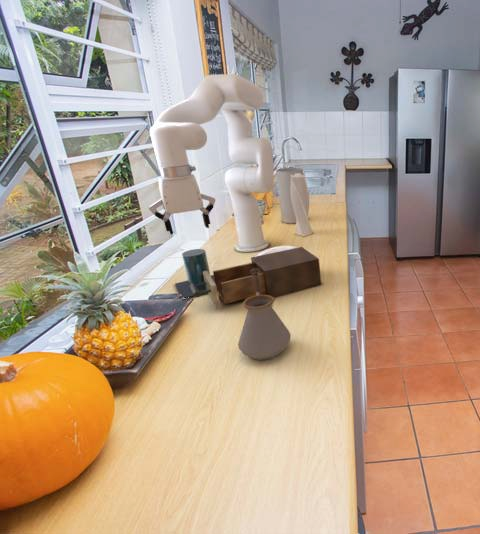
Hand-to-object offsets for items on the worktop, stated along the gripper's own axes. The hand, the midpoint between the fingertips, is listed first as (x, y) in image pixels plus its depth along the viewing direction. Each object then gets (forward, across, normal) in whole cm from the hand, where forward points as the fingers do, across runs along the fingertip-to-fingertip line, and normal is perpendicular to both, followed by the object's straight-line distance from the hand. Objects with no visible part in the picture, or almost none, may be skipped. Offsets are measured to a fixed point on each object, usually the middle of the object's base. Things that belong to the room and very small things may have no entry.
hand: (189, 229), depth 115 cm
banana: (+19, -27, -4) cm, 34 cm away
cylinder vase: (+21, -52, -56) cm, 80 cm away
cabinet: (+19, -22, +15) cm, 33 cm away
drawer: (+17, -5, +15) cm, 23 cm away
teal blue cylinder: (+18, +1, +1) cm, 18 cm away
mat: (+19, +1, +1) cm, 19 cm away
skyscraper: (+20, -47, -32) cm, 61 cm away
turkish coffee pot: (+18, -6, +43) cm, 47 cm away
